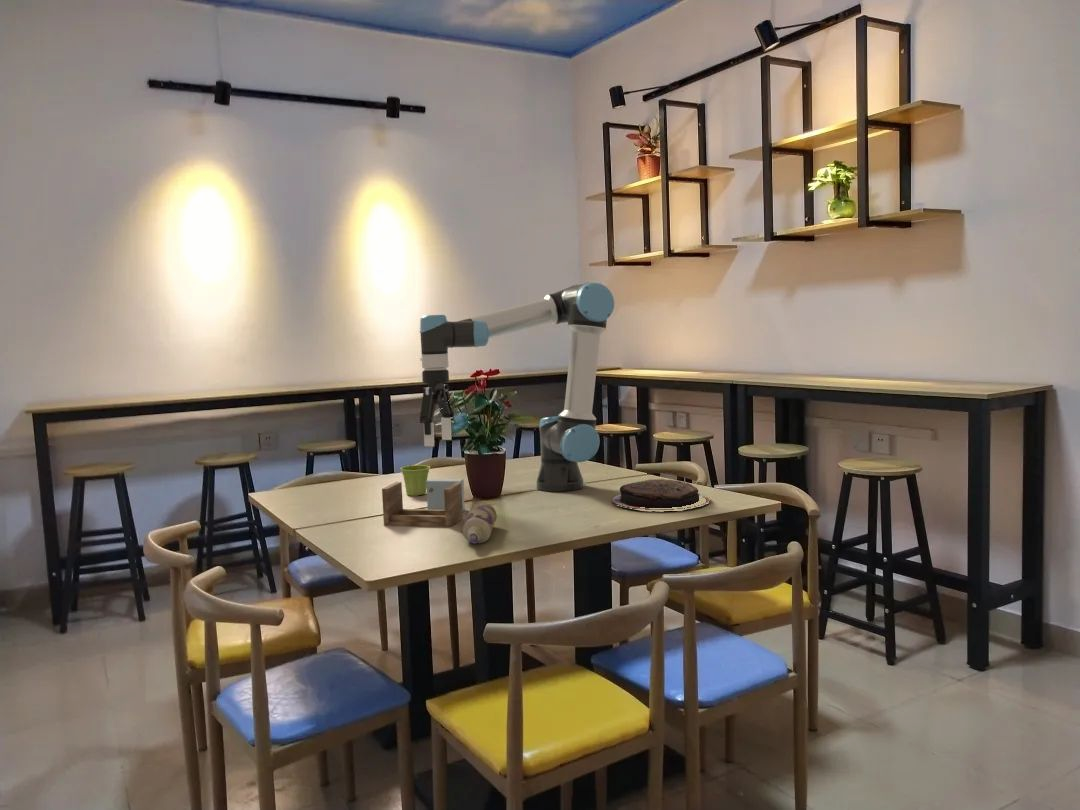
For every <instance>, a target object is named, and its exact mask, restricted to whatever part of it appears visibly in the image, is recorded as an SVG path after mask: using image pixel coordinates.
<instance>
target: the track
mask: <svg viewBox="0 0 1080 810" xmlns="http://www.w3.org/2000/svg"><path fill="white" fill-rule="evenodd" d="M402 484H403V483H402V481H395V482H394V483H391V484H389V485H387V486H385V487H383V488H381V489H382V490H381V495H382V496H381V497H382V499H381V500H382V512H383V513H382V514H383V516H382V517H383V526H384V525H392V526H391V527H433V526H438V527H440V526H441V528H442V527H443V528H447V527H449V528H451V527H453V526H455V525H456V524H457V523H459V522H460V521H461V520H463V519H464V513H463V512H464V511H463V506H462V484H461V482H456V483H454V484H452V485H451V486H449V487H447V488H445V489H444V499H445V510H434V509H428V508H427V509H426V508H425V509H418V508H416V509H415V508H404V507H403V506H404V505H403V504H404V503H403V501H404V500H403V485H402ZM462 518H463V519H462ZM459 520H460V521H459ZM458 521H459V522H458ZM455 523H456V524H455ZM394 525H395V526H394ZM438 527H437V528H438Z"/></svg>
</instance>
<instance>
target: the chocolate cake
mask: <svg viewBox="0 0 1080 810" xmlns="http://www.w3.org/2000/svg"><path fill="white" fill-rule="evenodd" d="M619 493H620V494H617V495H616V496H614V497H612V502H613V503H614V505H615V504H616V505H619V506H622V507H627V508H632V509H645V510H674V509H649V508H672V507H682V506H686V505H691V504H694V503H696V502H698V501H699V496H701V497H703V498H705V499H706V502H705V503H703V504H701V505H704V504H706V503H708V502H709V501H710V502H711V498H710V497H709V496H708V495H707V494H703V493H699V489H698V487H696V486H694V485H692V484H691V483H690V482H686V481H681V480H674V479H665V478H658V479H657V478H656V479H645V480H640V481H634V482H631V483H627V484H626V483H625V484H623V485H621V486H620V487H619ZM698 506H700V505H698ZM640 507H645V508H640ZM694 507H696V506H694ZM687 508H691V507H687ZM677 509H683V508H677ZM684 509H685V508H684Z"/></svg>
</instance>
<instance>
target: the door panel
mask: <svg viewBox="0 0 1080 810" xmlns="http://www.w3.org/2000/svg"><path fill="white" fill-rule="evenodd" d="M456 482H461V484H462V506H463V510H464V511H466V508H465V507H466V505H465V504H466V503H465V487H464V486H465V484H464V478H430V479H427V481H426V486H427V488H426V502H427V504H426V505H427V509H434V510H445V499H444V489H445V488H447V487H449V486H451V485H452V484H454V483H456Z"/></svg>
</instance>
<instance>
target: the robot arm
mask: <svg viewBox="0 0 1080 810" xmlns="http://www.w3.org/2000/svg"><path fill="white" fill-rule="evenodd" d="M614 298H615V297H614V296H613V293H612V292H611V290H610V289H609V287H607V286H605V285H604V284H602V283H599V282H588V281H587V282H585V283H580V284H575V285H574V284H573V285H571V286H569V287H565V288H563V289H561V290H558V291H556V292H553V293H549V294H546V295H545V296H544V298H543V299H540V300H539V299H538V300H535V301H532V302H528V303H523V304H521V305H520V304H519V305H515V306H513V307H507V308H504V309H500V310H495V311H493V312H489V313H485V314H481V315H477V316H473V317H470V318H465V319H461V320H457V321H450V320H449V321H448V318H447V316H446V315H445V314H426V315H422V316H421V317H420V319H419V320H420V322H419V324H420V325H419V326H420V327H419V329H420V330H419V334H420V349H421V350H420V352H421V357H420V362H421V367H422V369H424V370H422V373H421V379H422V383H423V384H426V385H427V387H423V388H422V399H421V407H420V415H419V423H420V424H423V443H424V447H435V427H434V425H435V424H434V422H433V419H434V415H435V411H436V408H437V405H438V409H439V411H440V413H441V416H442V417H441V418H440V422H441V440H442V441H452V440H453V439H452V418H454V417H455V414H454V409H453V410H452V408H453V407H452V408H451V407H450V405H451V404H449V403H450V401H451V402H452V399H451V395H450V389H449V384H446V383H449V381H450V376H449V374H450V373H449V369H447V368H449V367H450V366H449V352H448V349H449V348H451V349H452V348H478V347H479V348H480V347H485V346H487V344H488V343H489V340H490V339H493V338H496V337H500V336H503V335H508V334H511V333H516V332H520V331H522V330H528V329H532V328H535V327H538V326H542V325H546V324H551V325H553V326H555V325H559V324H564V323H567V327H568V328H569V329H570V330H571V341H570V348H569V349H570V350H569V360H568V369H567V379H566V389H565V395H564V397H565V398H564V405H563V406H564V408H563V410H562V411H561V412H560V413H559V414H558V415H557V416H548V417H547V416H546V417H542V418H540V420H539V428H538V429H539V439H540V440H539V442H540V443H539V444H540V467H539V470H538V475H537V479H536V489H537V490H540V491H542V492H543V491H544V492H570V491H577V490H580V488H581V489H583V488H584V478H583V475H582V473H581V470H580V466H579V464H578V463H584V462H588V461H589V460H591V459H592V458H593V457H594V456H595V455H596V453H598V450H599V447H600V443H601V441H600V440H601V439H600V434H599V432H598V431H597V430H596V425H597V418H596V416H595V415H594V414H593V408H594V407H593V405H594V396H595V387H596V377H597V370H598V369H597V368H598V358H599V351H600V350H599V348H600V340H601V335H602V334H603V333H604V332H605V331H606V330H607V320H608V319H609V317H610V316H612V314H613V312H614V308H615V299H614ZM449 399H450V400H449ZM448 400H449V401H448ZM447 402H448V403H447ZM441 408H443V409H441ZM440 409H441V410H440Z"/></svg>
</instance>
